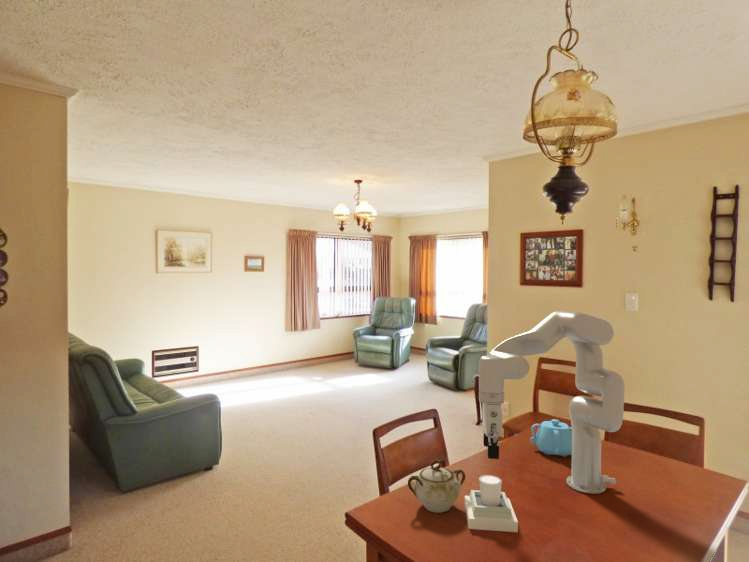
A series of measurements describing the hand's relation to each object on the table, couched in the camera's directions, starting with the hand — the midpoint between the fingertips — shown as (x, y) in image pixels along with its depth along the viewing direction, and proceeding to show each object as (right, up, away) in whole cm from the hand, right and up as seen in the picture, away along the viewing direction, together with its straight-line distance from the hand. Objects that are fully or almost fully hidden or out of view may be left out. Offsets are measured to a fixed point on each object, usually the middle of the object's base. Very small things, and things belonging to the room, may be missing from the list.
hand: (490, 452), depth 138 cm
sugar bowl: (-16, -20, +7) cm, 27 cm away
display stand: (0, -20, 0) cm, 20 cm away
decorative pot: (+41, -20, +53) cm, 70 cm away
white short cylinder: (0, -16, 0) cm, 16 cm away
